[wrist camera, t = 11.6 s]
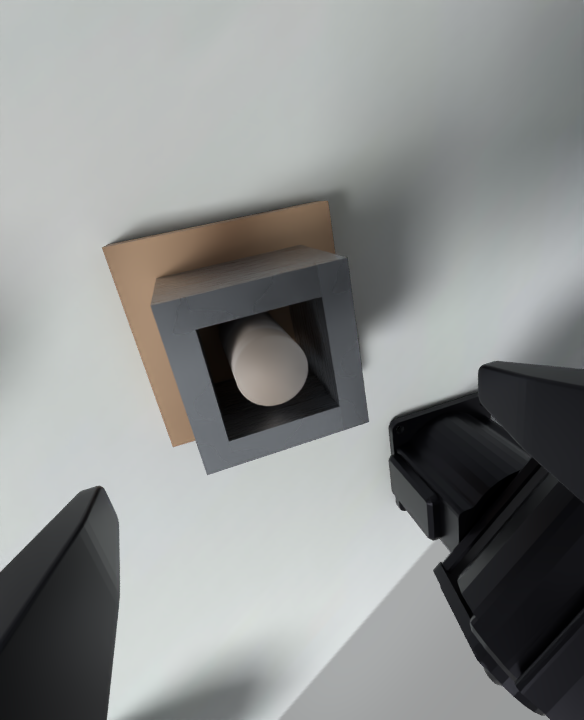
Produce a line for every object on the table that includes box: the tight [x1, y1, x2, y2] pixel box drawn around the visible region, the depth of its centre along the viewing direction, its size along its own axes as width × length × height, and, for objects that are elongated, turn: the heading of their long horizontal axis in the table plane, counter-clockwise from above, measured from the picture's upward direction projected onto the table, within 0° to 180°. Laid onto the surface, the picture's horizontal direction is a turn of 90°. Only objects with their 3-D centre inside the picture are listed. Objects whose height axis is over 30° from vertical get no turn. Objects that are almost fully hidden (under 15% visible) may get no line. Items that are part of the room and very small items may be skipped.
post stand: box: [102, 201, 335, 447], centre depth 16 cm, size 9×9×6 cm
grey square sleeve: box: [150, 245, 369, 475], centre depth 15 cm, size 6×6×5 cm
